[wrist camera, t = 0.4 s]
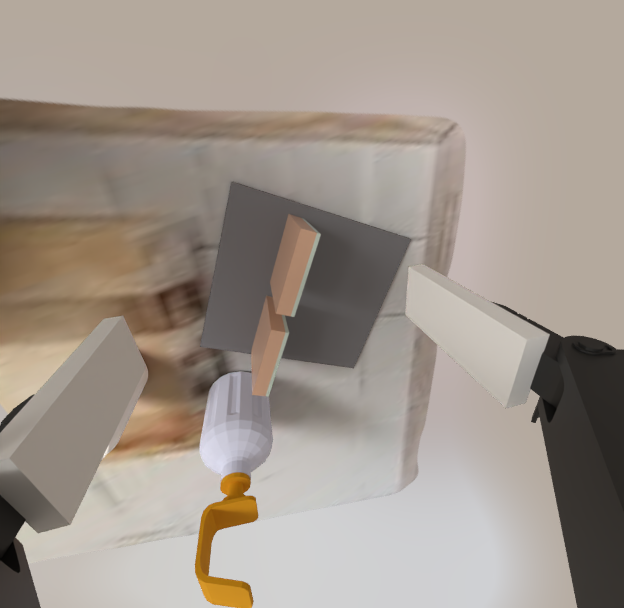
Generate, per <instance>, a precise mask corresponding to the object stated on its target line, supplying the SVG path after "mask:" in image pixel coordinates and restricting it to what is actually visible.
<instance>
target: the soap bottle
mask: <svg viewBox="0 0 624 608" xmlns="http://www.w3.org/2000/svg"><path fill="white" fill-rule="evenodd" d="M272 442H273V436H272V425H271V414H270V403H269V397H268V396H257V395H252V373H250V372H243V371H238V372H231V373H228V374H226V375H224V376H221V377H220V378H219V379H218V380H217V381H215V382H214V383H213V385H212V387H211V389H210V390H209V394H208V400H207V406H206V412H205V417H204V423H203V429H202V435H201V440H200V455H201V458H202V460H203V462H204V464H205V466H206V467H208V468H209V469H210V470H212V471H213V472H215V473H217V474H219V475H221V488H220V490H221V491H222V493H224V494H226V495H227V497H225V498H224V499H223V501H221V502H216V503H213V504H211V505H209V506H208V507H207V508H206V509H205V510H204V511H203V514H202V517H201V524H200V531H199V539H198V546H197V555H196V561H195V573H196V576H197V578H198V581H199V584H200V586H201V589H202V591H203V594H204V596H205V598H206V600H207V601H209V602H210V603H212V604H214V605H222V606H228V607H235V608H251V607H252V605H253V597H252V592H251V588H250V585H248V584H247V583H245V582H243V581H236V580H230V579H223V578H216V577H211V576H208V574H209V564H210V554H211V543H212V540H213V537H214V535H215V533H216V532H217V531H218V530H220V529H224V528H228V527H232V526H237V525H241V524H246V523H250V522H254V521H255V520H257V518H258V511H257V504H256V498H255V497H253V496H246V495H244V494H243V493H244V492H246V491H247V490H248V489H249V488H250V484H251V481H250V480H251V472H252V471H253V470H255V469H256V468H257V467H259V466H260V465H261V464H263V463H264V462H265V460H266V459H267V457H268V456H269V454H270V451H271V448H272Z"/></svg>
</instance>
